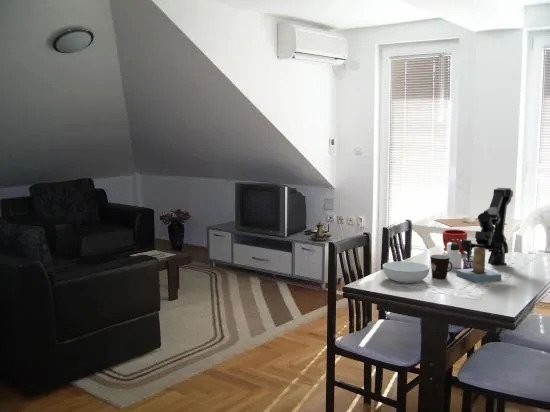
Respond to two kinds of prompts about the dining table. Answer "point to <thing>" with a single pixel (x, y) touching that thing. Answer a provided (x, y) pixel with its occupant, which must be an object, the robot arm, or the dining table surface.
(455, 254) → the medicine bottle
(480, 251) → the walnut peg
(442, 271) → the coffee mug
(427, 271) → the serving bowl
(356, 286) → the dining table surface
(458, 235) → the plant pot
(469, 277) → the slate holder block
